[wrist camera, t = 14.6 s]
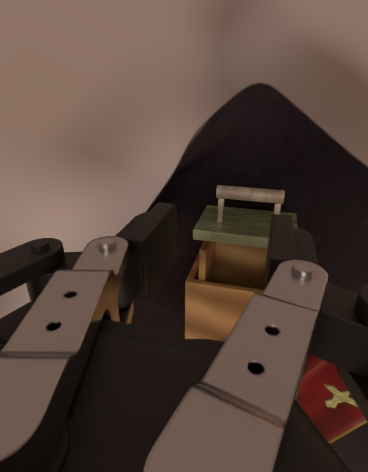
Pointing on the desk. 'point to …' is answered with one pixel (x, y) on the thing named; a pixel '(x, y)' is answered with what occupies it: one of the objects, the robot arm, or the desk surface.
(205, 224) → the drawer
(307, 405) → the hardcover book
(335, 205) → the desk surface
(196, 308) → the cabinet
